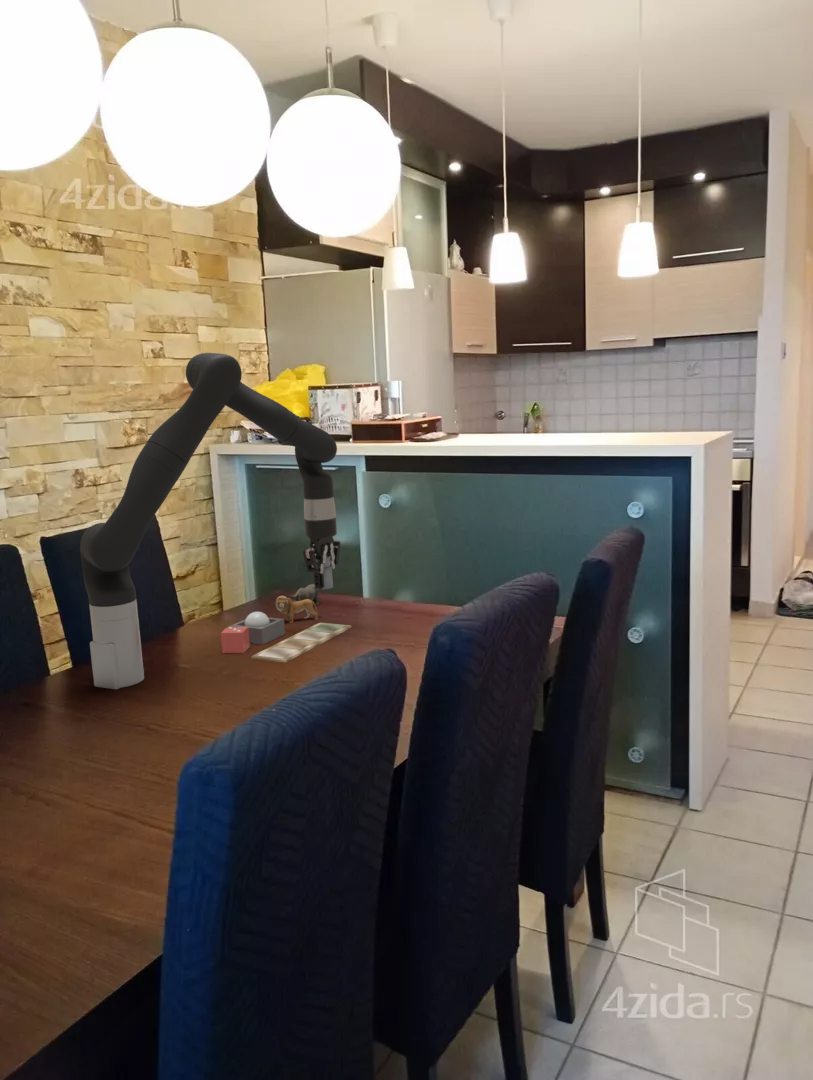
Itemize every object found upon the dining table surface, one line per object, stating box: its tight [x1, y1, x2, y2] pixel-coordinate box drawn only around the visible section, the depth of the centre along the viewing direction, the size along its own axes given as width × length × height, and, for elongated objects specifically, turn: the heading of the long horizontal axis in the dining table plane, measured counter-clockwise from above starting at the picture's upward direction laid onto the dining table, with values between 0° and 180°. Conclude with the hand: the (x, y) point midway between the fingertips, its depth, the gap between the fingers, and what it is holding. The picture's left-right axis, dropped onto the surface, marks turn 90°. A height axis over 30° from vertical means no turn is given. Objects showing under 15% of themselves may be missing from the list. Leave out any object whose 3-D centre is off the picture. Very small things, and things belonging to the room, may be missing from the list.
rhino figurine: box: [288, 583, 320, 605], centre depth 235 cm, size 4×14×6 cm, turn 154°
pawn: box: [316, 556, 334, 590], centre depth 210 cm, size 4×4×8 cm
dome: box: [244, 611, 270, 628], centre depth 208 cm, size 6×6×6 cm
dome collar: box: [229, 617, 286, 645], centre depth 208 cm, size 9×9×4 cm
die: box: [220, 626, 251, 654], centre depth 199 cm, size 5×5×5 cm
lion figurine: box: [275, 595, 322, 624], centre depth 223 cm, size 12×4×7 cm, turn 117°
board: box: [250, 622, 352, 664], centre depth 203 cm, size 29×9×1 cm, turn 154°
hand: (324, 586), depth 210 cm, fingers closed on pawn, 4 cm apart
